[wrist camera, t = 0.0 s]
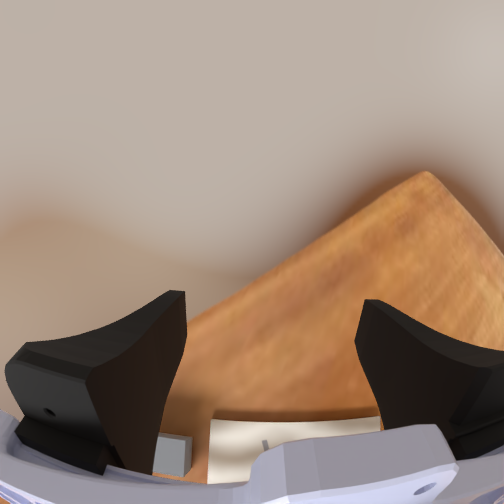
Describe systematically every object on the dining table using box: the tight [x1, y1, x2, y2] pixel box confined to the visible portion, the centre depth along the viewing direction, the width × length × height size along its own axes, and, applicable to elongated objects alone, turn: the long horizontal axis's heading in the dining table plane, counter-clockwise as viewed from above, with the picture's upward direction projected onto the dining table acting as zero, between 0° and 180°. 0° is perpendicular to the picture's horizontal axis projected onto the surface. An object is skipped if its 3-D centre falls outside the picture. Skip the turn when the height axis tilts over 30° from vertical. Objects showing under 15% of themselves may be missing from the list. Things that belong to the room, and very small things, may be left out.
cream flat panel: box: [208, 416, 380, 484], centre depth 34 cm, size 11×24×1 cm, turn 87°
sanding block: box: [153, 432, 193, 477], centre depth 31 cm, size 5×9×6 cm, turn 88°
